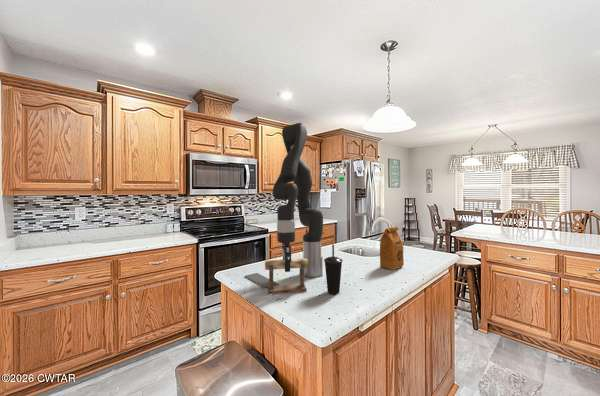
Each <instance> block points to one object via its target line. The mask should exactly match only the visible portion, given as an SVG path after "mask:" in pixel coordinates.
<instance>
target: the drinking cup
mask: <svg viewBox="0 0 600 396" xmlns="http://www.w3.org/2000/svg"><path fill="white" fill-rule="evenodd" d="M331 247H332V249H331V250H332V251H331V254H332V256H328V257H326V258H324V260H323V261H324V266H325V279H326V286H327V287H326V288H327V293H328V294H329V295H333V296H334V295H338V294H340V290H341V289H340V288H341V278H342V277H341V275H342V264H343V261H344V260H343V259H342V258H340V257H338V256H335V245H334V244H331Z"/></svg>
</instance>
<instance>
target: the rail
mask: <svg viewBox="0 0 600 396" xmlns="http://www.w3.org/2000/svg"><path fill="white" fill-rule="evenodd" d="M301 263H304V264H305V268H307V267H308V260H307V259H303V258H296V259H295V258H293V259H292V258H291V263H290V269H300V268H301ZM269 265H273V271H274V270H285V262H284V260H283V259H275V260H264V270H265V271H269Z"/></svg>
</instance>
